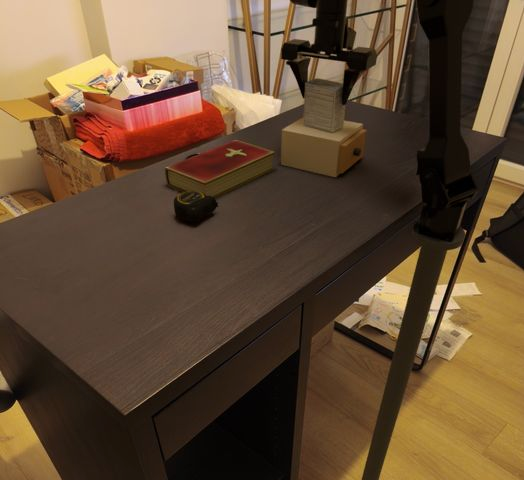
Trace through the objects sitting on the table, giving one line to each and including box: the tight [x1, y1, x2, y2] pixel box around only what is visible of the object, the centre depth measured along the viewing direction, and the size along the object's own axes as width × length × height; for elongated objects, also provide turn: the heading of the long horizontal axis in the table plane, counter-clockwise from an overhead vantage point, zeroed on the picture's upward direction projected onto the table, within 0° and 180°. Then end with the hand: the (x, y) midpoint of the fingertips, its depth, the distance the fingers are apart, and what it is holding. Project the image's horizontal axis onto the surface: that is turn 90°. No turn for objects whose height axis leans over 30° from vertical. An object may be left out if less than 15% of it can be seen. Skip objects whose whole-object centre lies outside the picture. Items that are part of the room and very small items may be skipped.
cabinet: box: [280, 116, 364, 178], centre depth 107 cm, size 14×13×8 cm
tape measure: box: [173, 191, 219, 223], centre depth 89 cm, size 7×7×4 cm
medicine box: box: [303, 77, 346, 132], centre depth 101 cm, size 8×4×9 cm, turn 49°
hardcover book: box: [164, 139, 276, 199], centre depth 102 cm, size 12×21×4 cm, turn 139°
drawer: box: [337, 129, 367, 174], centre depth 106 cm, size 14×11×6 cm
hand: (324, 101), depth 100 cm, fingers open, 9 cm apart
